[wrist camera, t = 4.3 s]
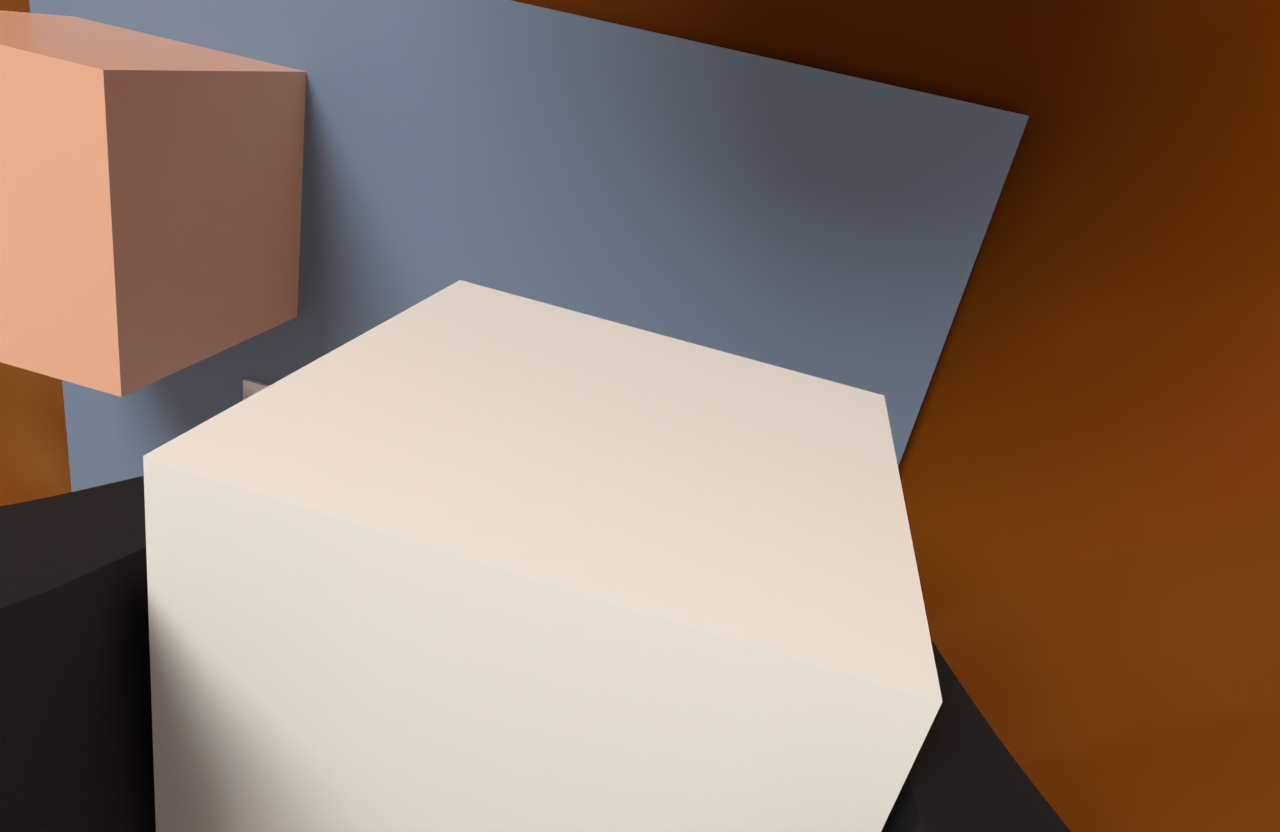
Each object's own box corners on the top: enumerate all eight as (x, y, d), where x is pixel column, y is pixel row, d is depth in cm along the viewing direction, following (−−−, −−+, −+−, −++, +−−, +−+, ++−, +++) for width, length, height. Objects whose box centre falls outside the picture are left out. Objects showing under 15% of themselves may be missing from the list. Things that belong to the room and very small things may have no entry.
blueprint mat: (764, 817, 21) (763, 829, 21) (90, 601, 23) (78, 610, 23) (1025, 115, 14) (1030, 116, 14) (33, -106, 16) (15, -110, 16)
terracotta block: (297, 316, 18) (121, 397, 14) (90, 260, 19) (-145, 320, 14) (306, 72, 16) (102, 69, 12) (74, 16, 17) (-207, -7, 12)
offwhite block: (762, 730, 11) (720, 1170, 7) (416, 620, 12) (159, 959, 7) (883, 395, 9) (943, 701, 5) (460, 280, 10) (142, 456, 5)
